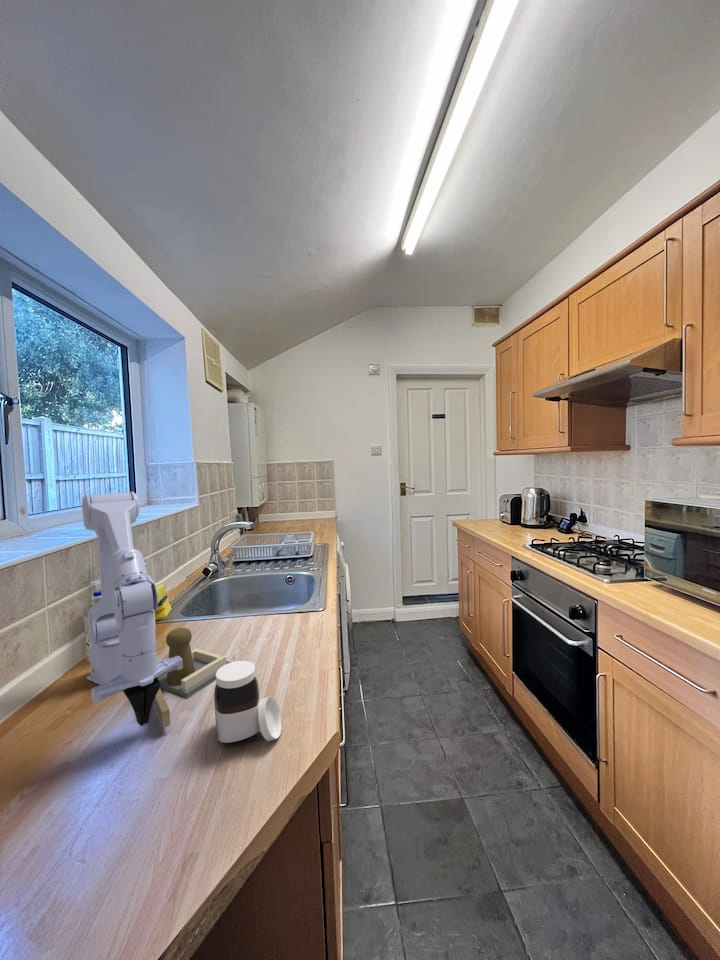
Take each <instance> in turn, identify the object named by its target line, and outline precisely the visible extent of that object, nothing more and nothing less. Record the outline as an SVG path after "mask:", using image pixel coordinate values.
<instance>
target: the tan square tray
mask: <svg viewBox="0 0 720 960" xmlns="http://www.w3.org/2000/svg"><path fill="white" fill-rule="evenodd" d="M191 653H192V658H193V663H194V668H195V672H194V673H192V674H191V675H189V676H187V677H185V678H184V679H182V680H181V685H176V686H173V685H169V684H167V673H166V674H164V675H161V676H159V677H158V680H159V681H160V689H163V690H165V691H168V692H171V693H174V694H176V695H178V696H181V697H184V698H186V699H189V698H191V696H193V695H195V694H197V692H199V691H201V690H202V689H204V688H206V687H207V686H208V685H209V686H210V684H212V683H213V682H216V672H217V671H218V669H219V668H221V667H222V666H224V665H226V664H228V663H231V662H232V661H228V660H227V656H225V655H221V654H218V653H214V652H210V651H207V650H204V649H200V648H197V647H195V648H194V649H192V650H191Z"/></svg>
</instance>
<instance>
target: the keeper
mask: <svg viewBox="0 0 720 960" xmlns="http://www.w3.org/2000/svg"><path fill="white" fill-rule="evenodd" d="M153 706H154V709H155V711H156V714H157V717H158V719H159V722H160V724H161V727H162V728H163V729H165V728H167V727H170V726H171V713H170V708H169V705H168V703H167V701H166V699H165V696H164V694H163V691H162V690H161V688H160V689H159V690H158V692H157V694H156V696H155V699H154V701H153Z"/></svg>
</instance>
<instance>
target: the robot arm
mask: <svg viewBox="0 0 720 960" xmlns="http://www.w3.org/2000/svg"><path fill="white" fill-rule="evenodd" d="M81 502H82V504H81V506H82V516H83V525H84V527H85V530H89V531H93V532H95V534H96V536H97V544H98V546H97V547H98V561H99V575H100V579H99V580H100V594H101V595H100V596H101V598H100V599H99V600H98V601H97V602H95V604H93V605H92V606H91V607H89V608H88V611H87V617H88V618H87V634H88V639H89V643H91V646H90V648H89V665H90V675H88V676H87V677H86V680H88V681H90V682H93V683H95V684H98V685H97V686H94V687H92V688H90V691H91V692H90V693H91V700H92V702H93V703H94V705H97V704H99V703H101V702H103V700H104V699H106V698H109V697H111V696H114V695H116V694H118V693H121V692H122V693H124V695H125V696H126V698H127V700H128V702H129V703H130V705H131V707H132V710H133V712H134V715H135V718H136V722H137V724H138V725H139V726H140V727H142V726H144V725H146V724H148V723H149V722H150V716H151V712H152V707H153V705H154V703H153V701H154V699H155V696H156V694H157V692H158V690H159V689H160V690H161V688H160V681H159V680H158V677H159V676H161V675H164V674H166V673H168V672H171V671H173V670H180V669H183V660H182V658H181V657H179V656H176V657H173V658H170V659H169V658H166V659H162V660H158V656H157V654H158V653H157V638H156V623H155V612H154V611H157V610H158V605H159V597H158V596H159V595H158V590H157V587H156V586H157V585H156V584H155V581H154V579H152V575H150V574H149V575H148V572H147V571H148V570H147V568H146V563H145V559H144V556H143V554H142V552H141V551H140V550H138V549H136V548H135V547H134V541H133V539H134V538H133V532H132V526H131V525H132V524H134V523H136V522H137V518H138V517H139V514H140V504H139V503H140V502H139V497H138V495H137V494H136V493H135V491H128V492H116V493H101V494H100V493H99V494H85V495H84V496H83V497H82V501H81Z"/></svg>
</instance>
